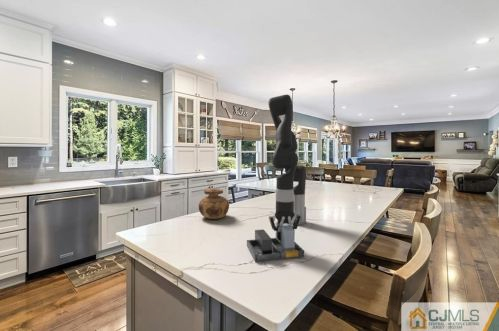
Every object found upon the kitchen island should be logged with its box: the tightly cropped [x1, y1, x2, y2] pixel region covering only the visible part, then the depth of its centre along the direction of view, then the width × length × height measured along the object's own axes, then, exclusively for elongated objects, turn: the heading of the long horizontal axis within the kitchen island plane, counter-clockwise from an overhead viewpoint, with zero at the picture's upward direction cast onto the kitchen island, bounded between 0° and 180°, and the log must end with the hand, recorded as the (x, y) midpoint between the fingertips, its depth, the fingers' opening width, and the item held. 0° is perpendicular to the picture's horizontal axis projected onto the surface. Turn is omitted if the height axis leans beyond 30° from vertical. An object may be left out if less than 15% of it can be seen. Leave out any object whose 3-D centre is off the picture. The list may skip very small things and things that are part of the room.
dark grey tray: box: [246, 228, 305, 263], centre depth 103 cm, size 20×16×8 cm
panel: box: [275, 221, 296, 248], centre depth 103 cm, size 4×12×7 cm, turn 12°
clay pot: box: [198, 187, 230, 220], centre depth 153 cm, size 19×19×20 cm
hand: (284, 239), depth 104 cm, fingers closed on panel, 4 cm apart
